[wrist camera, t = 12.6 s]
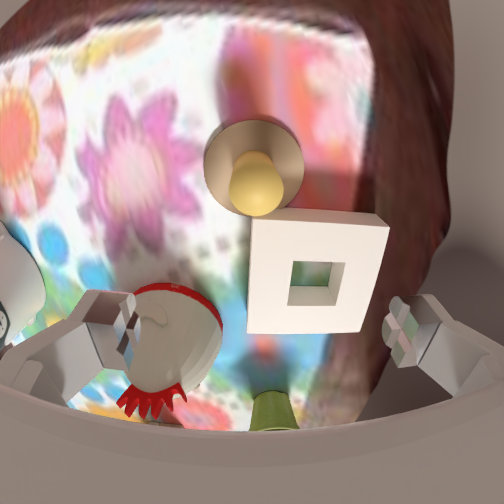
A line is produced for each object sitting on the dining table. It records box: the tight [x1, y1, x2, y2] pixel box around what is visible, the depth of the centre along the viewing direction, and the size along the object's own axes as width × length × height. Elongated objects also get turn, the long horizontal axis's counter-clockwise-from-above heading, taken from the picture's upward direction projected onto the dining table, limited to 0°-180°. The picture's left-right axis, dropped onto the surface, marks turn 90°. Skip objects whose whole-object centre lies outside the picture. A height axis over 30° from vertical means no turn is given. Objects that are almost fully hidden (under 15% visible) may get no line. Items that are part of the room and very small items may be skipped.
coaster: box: [204, 120, 304, 217], centre depth 28 cm, size 10×10×1 cm
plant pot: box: [249, 391, 300, 431], centre depth 42 cm, size 9×9×9 cm
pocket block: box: [247, 207, 390, 334], centre depth 32 cm, size 14×14×4 cm
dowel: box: [229, 150, 284, 216], centre depth 25 cm, size 4×4×8 cm
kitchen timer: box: [116, 283, 223, 420], centre depth 31 cm, size 14×14×15 cm
